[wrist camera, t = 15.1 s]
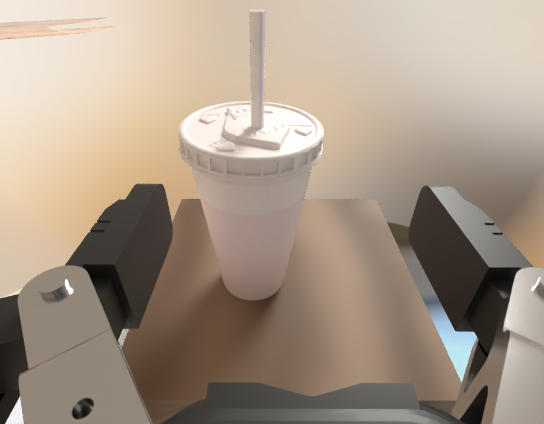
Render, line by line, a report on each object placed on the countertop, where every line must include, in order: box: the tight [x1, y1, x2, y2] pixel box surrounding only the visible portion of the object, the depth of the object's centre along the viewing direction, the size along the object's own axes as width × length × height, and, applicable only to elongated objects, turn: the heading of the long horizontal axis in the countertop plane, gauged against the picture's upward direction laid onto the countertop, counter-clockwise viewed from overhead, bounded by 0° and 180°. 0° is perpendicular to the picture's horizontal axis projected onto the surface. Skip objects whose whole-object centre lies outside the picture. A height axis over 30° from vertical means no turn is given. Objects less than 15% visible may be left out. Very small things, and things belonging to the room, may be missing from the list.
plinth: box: [122, 199, 462, 424], centre depth 22 cm, size 16×16×4 cm
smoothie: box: [178, 10, 324, 301], centre depth 16 cm, size 6×6×14 cm
